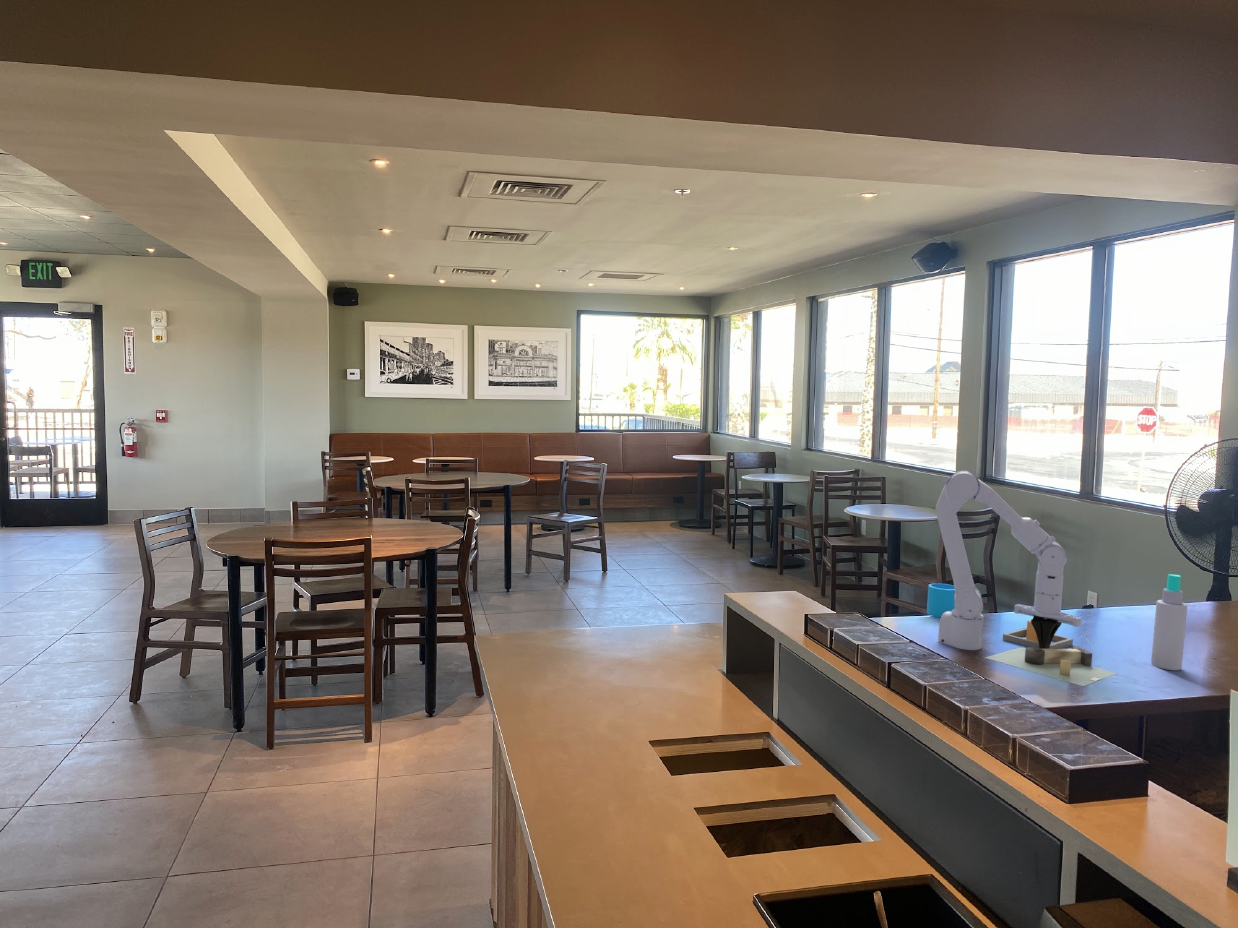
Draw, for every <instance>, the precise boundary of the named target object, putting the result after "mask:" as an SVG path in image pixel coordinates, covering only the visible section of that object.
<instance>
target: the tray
mask: <svg viewBox="0 0 1238 928" xmlns="http://www.w3.org/2000/svg"><path fill="white" fill-rule="evenodd" d="M1026 634H1027V627H1025V628H1021V629H1016V630H1012V631H1009V632H1005V633H1003V634H1002V641H1005V642H1009V643H1012V644H1017V645H1019V646H1024V647H1026V648H1028V647H1032V648H1039V643H1038V642H1035V641H1032V640H1028V639H1026ZM1052 642H1053V643H1052ZM1073 642H1074V638H1070V637H1066V636H1062V635H1058V634H1055V635H1054V637H1053V639H1052V641H1051V644H1050V647H1049V649H1066V648H1068V647H1073Z"/></svg>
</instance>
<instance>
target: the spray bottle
mask: <svg viewBox="0 0 1238 928" xmlns="http://www.w3.org/2000/svg"><path fill="white" fill-rule="evenodd" d="M1181 578H1182V576H1181V575H1180V574H1172V573H1170V574H1169V573H1168V574H1167V581H1166V582H1167V583H1166V587H1165V588H1163V589H1162V596H1161V599H1158V600H1156V603H1155V605H1156V606H1155V615H1154V627H1153V628H1154V629H1153V638H1152V647H1151V648H1152V650H1151V658H1150V661H1151V662H1150V663H1151V665H1152V666H1153V667H1155V668H1157V669H1161V670H1165V671H1166V670H1167V671H1175V672H1176V671H1180V670H1182V667H1183V659H1184V658H1183V657H1184V648H1185V647H1184V646H1185V636H1186V635H1185V634H1186V624H1187V614H1188V604H1186V603H1185V602H1183V599H1184V598H1183V597H1184V592H1183V590H1181V580H1182V579H1181Z"/></svg>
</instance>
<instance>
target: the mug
mask: <svg viewBox="0 0 1238 928" xmlns="http://www.w3.org/2000/svg"><path fill="white" fill-rule="evenodd" d="M927 590H928V591H927V605H926V614H928V615H929V616H931V617H935V618H940V617H941V616H942V614H943V613H944V612H946V611H951V612H952V610H954V609H955V600H954V594H955V587H954V584H953V585H952V584H948V583H947V584H946V583H930V584H928V588H927Z"/></svg>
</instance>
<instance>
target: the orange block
mask: <svg viewBox="0 0 1238 928" xmlns="http://www.w3.org/2000/svg"><path fill="white" fill-rule="evenodd" d="M1026 625H1027V626H1026V628H1027V634H1026V637H1025V639H1028V640H1032V641H1035V642H1038V638H1037V635H1036V632H1035V630H1034V627H1033V625H1032V624H1031V620H1027V622H1026Z"/></svg>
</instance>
